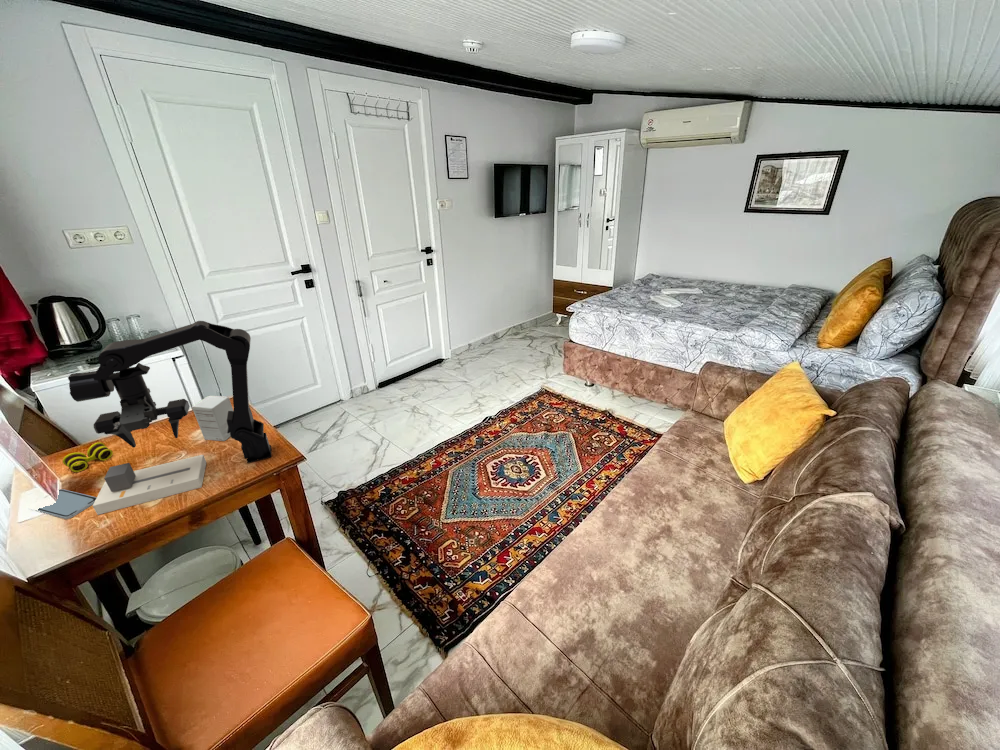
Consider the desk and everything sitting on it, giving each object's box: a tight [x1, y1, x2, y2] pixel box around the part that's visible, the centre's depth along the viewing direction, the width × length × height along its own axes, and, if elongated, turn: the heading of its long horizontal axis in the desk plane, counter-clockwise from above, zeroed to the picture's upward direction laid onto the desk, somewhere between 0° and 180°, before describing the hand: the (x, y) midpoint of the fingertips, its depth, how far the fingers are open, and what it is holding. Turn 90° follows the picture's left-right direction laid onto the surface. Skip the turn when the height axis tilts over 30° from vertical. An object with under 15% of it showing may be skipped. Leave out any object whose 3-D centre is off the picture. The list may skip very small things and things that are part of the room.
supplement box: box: [191, 395, 234, 442], centre depth 132 cm, size 7×7×13 cm
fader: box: [103, 462, 136, 492], centre depth 107 cm, size 4×5×4 cm
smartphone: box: [37, 488, 97, 520], centre depth 106 cm, size 7×1×15 cm
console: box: [92, 454, 207, 516], centre depth 111 cm, size 22×12×3 cm, turn 117°
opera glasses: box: [62, 441, 114, 473], centre depth 120 cm, size 10×5×5 cm, turn 152°
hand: (156, 441), depth 110 cm, fingers open, 9 cm apart
